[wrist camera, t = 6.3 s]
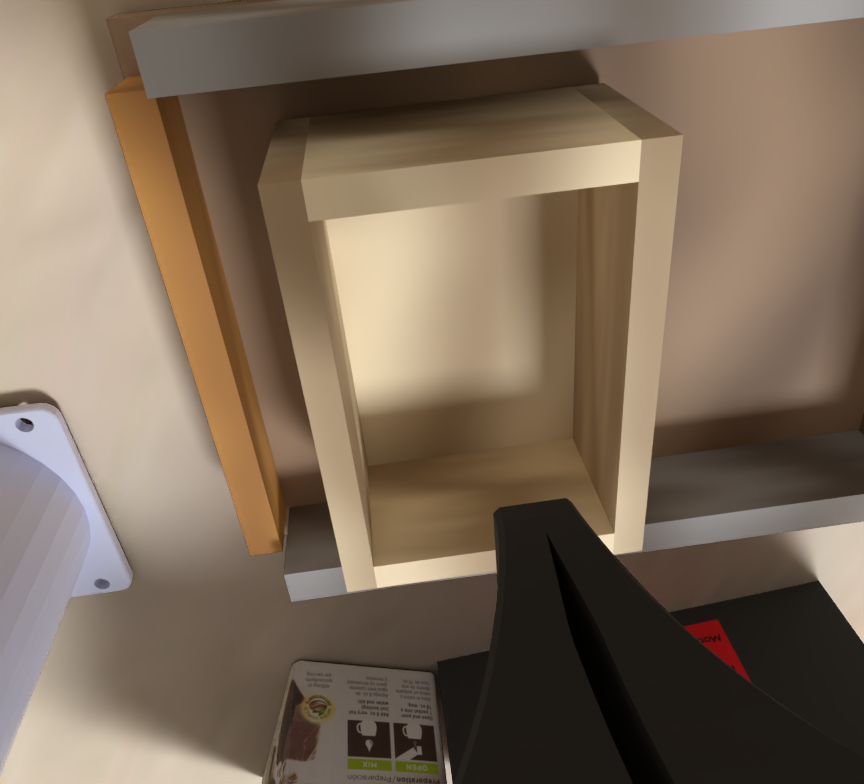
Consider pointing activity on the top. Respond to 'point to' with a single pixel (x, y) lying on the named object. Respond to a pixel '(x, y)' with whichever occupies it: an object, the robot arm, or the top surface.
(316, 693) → the coffee box
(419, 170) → the crate
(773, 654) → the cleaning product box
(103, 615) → the top surface
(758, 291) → the crate bay
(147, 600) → the top surface
